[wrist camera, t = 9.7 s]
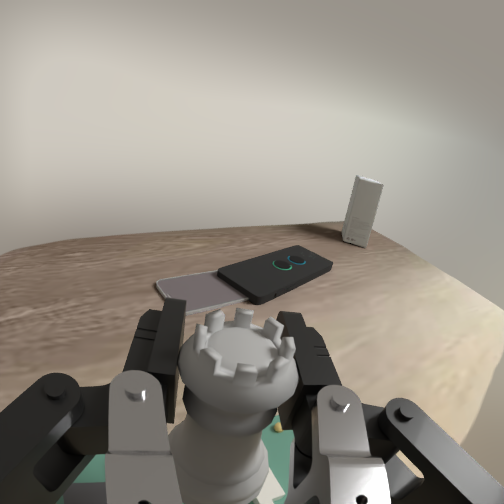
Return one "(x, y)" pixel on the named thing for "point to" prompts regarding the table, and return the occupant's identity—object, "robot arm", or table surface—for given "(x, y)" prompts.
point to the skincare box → (361, 211)
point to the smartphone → (200, 291)
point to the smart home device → (274, 273)
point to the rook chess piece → (229, 406)
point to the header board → (269, 500)
